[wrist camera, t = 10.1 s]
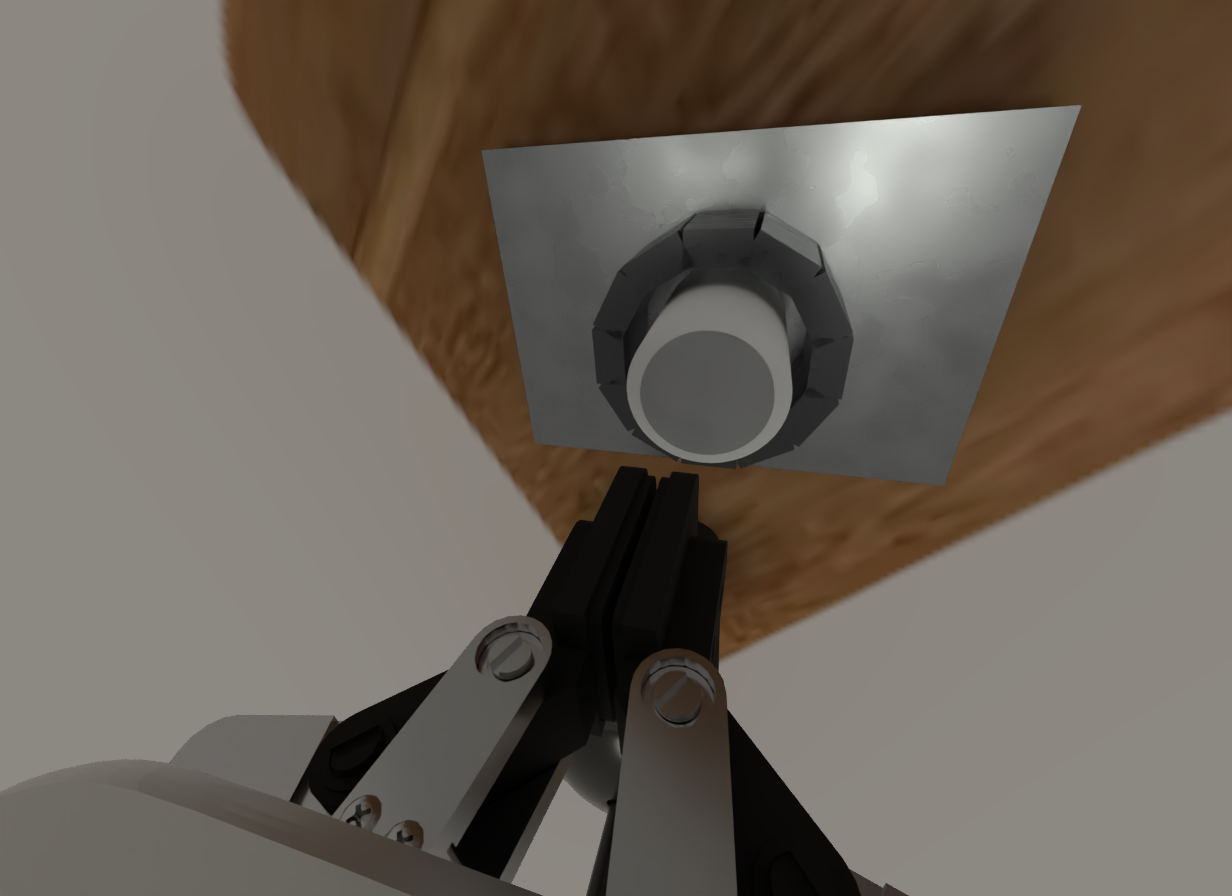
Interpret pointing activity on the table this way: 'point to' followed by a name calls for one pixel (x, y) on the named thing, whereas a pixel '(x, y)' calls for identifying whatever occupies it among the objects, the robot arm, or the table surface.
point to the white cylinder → (714, 368)
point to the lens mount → (782, 271)
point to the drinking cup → (606, 777)
